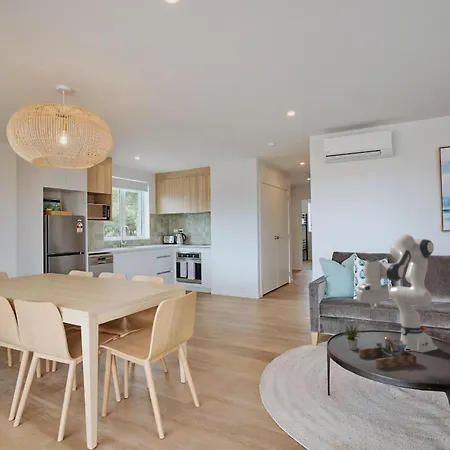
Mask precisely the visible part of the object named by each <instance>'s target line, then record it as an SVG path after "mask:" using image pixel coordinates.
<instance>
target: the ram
mask: <svg viewBox="0 0 450 450" xmlns="http://www.w3.org/2000/svg"><path fill="white" fill-rule="evenodd" d="M391 339H392V338H391V336H384V340H385V346H386V348H385V346H383V345H382V344H383V343H382V342H376V347H380V356H379V357H381V358H390V357H396V356H397V357H400V354H401V352H393V351H391V350H390V346H391V345H390V340H391ZM384 350H386V351H387V352H389V353H391V354H393V356H392V355H390V354H388V353H386V352H384Z"/></svg>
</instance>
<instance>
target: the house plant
mask: <svg viewBox="0 0 450 450" xmlns="http://www.w3.org/2000/svg"><path fill="white" fill-rule="evenodd" d="M344 327H345V328H344ZM344 327H343V329H344V330H345V331H344V332H342V333H343V334H344V336H345V337H346V339H345V340H346V345H347V348H348V350H351V351H353V350H357V347H358V339H359V338H360V336H361V337H362V335H361V333H360V334H359V332H361V330H360V329H361V327H360V324H357V325H356V326H355V327H354V325H353V324H352V323H350V325H349V328H350V329H349V328H348V326H347V325H346V324H344Z"/></svg>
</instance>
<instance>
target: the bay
mask: <svg viewBox="0 0 450 450" xmlns="http://www.w3.org/2000/svg"><path fill="white" fill-rule="evenodd" d="M384 347H385V348H386V345H385V346H384ZM390 350H391V345H390ZM384 352H386V353H388V354H391V353H389V352H387V351H386V350H384ZM375 357H381V356H380V347H378V346H376V347H367V348H359V349H358V358H359V359H366V358H375ZM417 362H418V361H417V354H415V353H413V352H411V351H410V350H406V349H404V356H400V357H390V358H383V357H381V358H375V369H377V370H379V369H380V368H381V369H388V368H389V369H390V368H397V367H405V366H406V367H407V366H412V365H413V366H417V364H418V363H417Z"/></svg>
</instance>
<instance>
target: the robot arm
mask: <svg viewBox="0 0 450 450" xmlns="http://www.w3.org/2000/svg"><path fill="white" fill-rule="evenodd" d="M433 252H434V243H433V242H432V241H431V240H430V239H426V238H425V239H424V238H423V239H420V238H419V239H418V238H417V239H416V238H415V239H414V237H413V236H411V235H410V234H403V235H401V236H399V237H398V238H397V239H396V240H394V241H393V243H391V245H390V247H389V253H390V255H391V256H392V257H393V258H395V259H396V260H397V262H394V263H386V262H381V261H380V260H379V259H378V258H375V257H372V258H368V259H367V258H366V259H365V261H364V267H363V268H364V269H363V270H364V271H363V272H364V277H365V278H364V282H363V283H360V284H358V285H357V291H356V300H357V302H358V303H362V304H363V303H364V304H365V303H369V305H370V309H371V310H376V309H378V305H379V302H382V301H389V300H391V301H392V302H393V303H395V304H394V305H396V307H397V309H398V310H399V316H400V329H399V330H400V339H399V340H400V341H404V342H406V343H407V345H406V347H405V350H406V349H410V350H409V352H411V351H412V352H418V353H427V352H431V351H435V350H438V349H439V347H438V346H437V345H435V344H434V342H433V339H432V337H430V336H429V335H428V334H426V333H425V332H424V331H427V327H425V326H421V314H420V313H419V312H418V311H416V309H415V308H413V306H417V307H427V306H429V305H431V303H432V300H433V297H432V293H431V292H430V291H429V290H428V289H427V288H426V286H425V285H426V284H425V278H426V275H427V271H428V264H429V261H428V258H429V257H430V256H431V255H432V253H433ZM406 268H407V270H406ZM405 271H406V273H405ZM404 273H405V276H404ZM403 277H405V280H406V281H407V282H408V283H409V284H411V285H410V287H409V286H399V285H398V286H392V287H391V288H390V289H389V286H388V285H387V284H382V280H381V279H383V280H389V281H390V280H391V281H394V282H397V281H398V282H399V281H400V280H401V279H402V278H403Z"/></svg>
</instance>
